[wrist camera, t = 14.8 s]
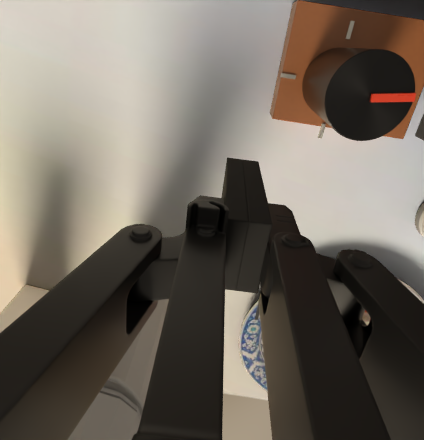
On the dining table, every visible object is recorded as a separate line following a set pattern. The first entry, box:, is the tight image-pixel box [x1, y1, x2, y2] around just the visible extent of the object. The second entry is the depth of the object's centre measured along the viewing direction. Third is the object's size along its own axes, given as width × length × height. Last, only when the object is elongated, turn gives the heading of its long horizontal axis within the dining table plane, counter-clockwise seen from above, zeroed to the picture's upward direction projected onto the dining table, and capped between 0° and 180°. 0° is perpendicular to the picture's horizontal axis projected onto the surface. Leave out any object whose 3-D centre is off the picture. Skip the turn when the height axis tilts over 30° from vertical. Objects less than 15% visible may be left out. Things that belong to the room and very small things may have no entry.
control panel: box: [270, 0, 424, 139], centre depth 34 cm, size 13×11×3 cm
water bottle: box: [68, 299, 169, 440], centre depth 36 cm, size 9×8×25 cm
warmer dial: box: [302, 47, 416, 141], centre depth 28 cm, size 6×6×10 cm
